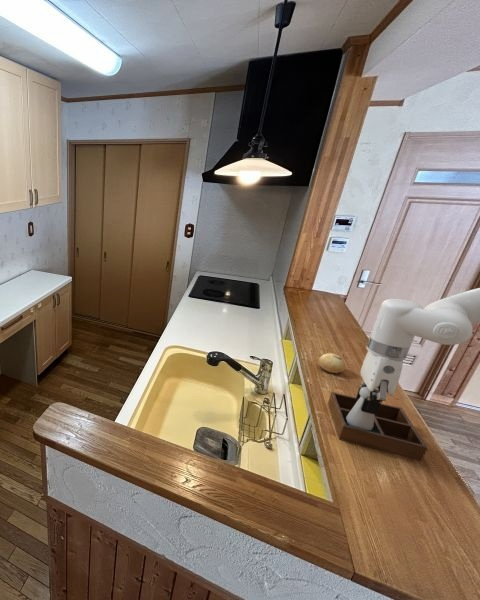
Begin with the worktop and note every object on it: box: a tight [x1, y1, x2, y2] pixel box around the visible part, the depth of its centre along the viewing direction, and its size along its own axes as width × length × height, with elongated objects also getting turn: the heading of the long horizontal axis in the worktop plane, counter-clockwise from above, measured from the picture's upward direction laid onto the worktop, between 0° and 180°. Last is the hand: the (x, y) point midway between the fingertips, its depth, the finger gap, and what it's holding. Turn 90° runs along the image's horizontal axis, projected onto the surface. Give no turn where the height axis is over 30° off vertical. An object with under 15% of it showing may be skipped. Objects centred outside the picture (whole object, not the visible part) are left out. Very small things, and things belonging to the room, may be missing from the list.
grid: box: [327, 391, 428, 462], centre depth 92 cm, size 17×17×5 cm
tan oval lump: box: [317, 352, 346, 374], centre depth 121 cm, size 8×8×7 cm
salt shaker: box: [346, 387, 378, 431], centre depth 88 cm, size 6×6×13 cm
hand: (365, 406), depth 88 cm, fingers closed on salt shaker, 4 cm apart
